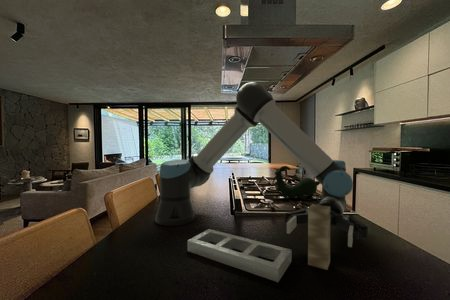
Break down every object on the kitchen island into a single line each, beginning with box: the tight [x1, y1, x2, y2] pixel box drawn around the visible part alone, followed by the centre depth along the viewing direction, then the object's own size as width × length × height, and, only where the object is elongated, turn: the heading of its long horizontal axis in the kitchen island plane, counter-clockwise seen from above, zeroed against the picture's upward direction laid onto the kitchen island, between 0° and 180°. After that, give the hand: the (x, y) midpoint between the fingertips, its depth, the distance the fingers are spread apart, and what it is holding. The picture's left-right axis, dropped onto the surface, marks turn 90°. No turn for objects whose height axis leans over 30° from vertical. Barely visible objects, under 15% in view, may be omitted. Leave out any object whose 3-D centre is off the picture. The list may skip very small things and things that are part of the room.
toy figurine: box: [274, 165, 321, 199], centre depth 122 cm, size 10×19×26 cm
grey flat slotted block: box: [186, 228, 293, 283], centre depth 58 cm, size 26×10×3 cm, turn 57°
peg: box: [307, 203, 331, 271], centre depth 55 cm, size 4×4×14 cm
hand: (316, 234), depth 52 cm, fingers open, 13 cm apart
